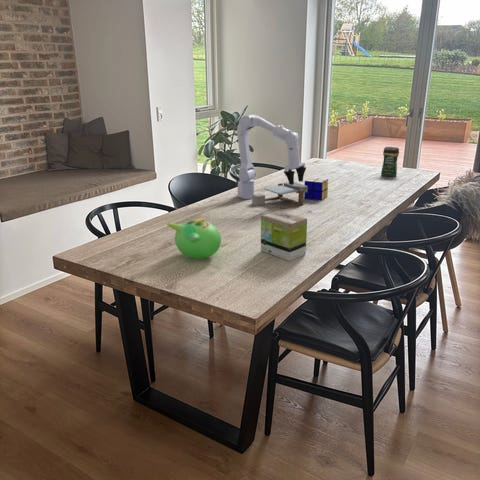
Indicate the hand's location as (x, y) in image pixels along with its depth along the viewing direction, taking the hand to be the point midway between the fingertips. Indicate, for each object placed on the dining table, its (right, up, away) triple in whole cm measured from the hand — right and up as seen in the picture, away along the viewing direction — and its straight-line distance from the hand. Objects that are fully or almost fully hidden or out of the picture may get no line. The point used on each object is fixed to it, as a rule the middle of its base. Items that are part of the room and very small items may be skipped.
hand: (296, 182), depth 252 cm
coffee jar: (+68, +12, +65) cm, 94 cm away
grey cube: (-19, -11, +3) cm, 22 cm away
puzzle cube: (+12, -7, +14) cm, 20 cm away
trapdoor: (-5, -4, +4) cm, 8 cm away
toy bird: (-45, -36, -68) cm, 89 cm away
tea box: (-13, -35, -65) cm, 75 cm away
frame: (-7, -10, +4) cm, 13 cm away
